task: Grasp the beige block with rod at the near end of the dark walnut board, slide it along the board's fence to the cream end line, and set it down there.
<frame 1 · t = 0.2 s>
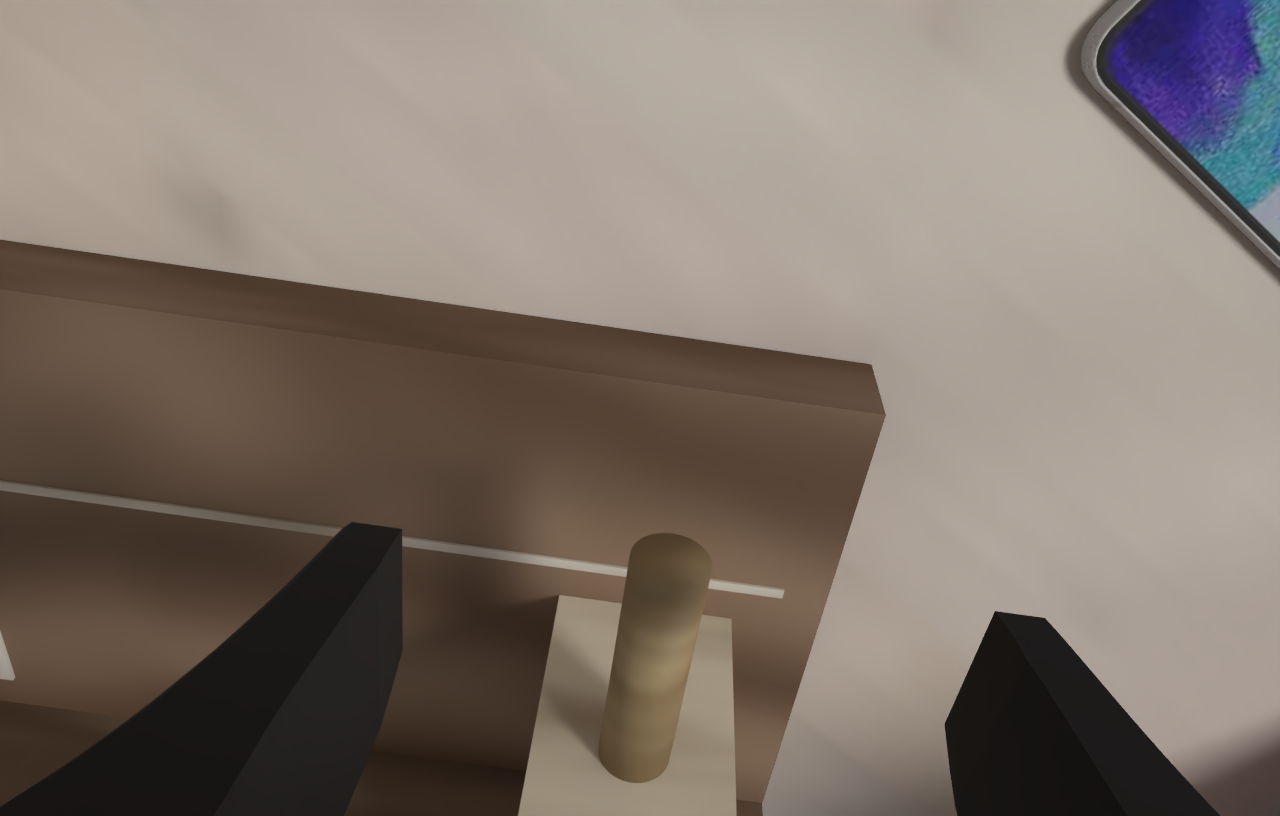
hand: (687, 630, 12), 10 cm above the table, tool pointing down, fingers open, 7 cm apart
beige block with rod: (632, 680, 24), point 2 cm above the table, touching board
board: (330, 535, 24), on the table
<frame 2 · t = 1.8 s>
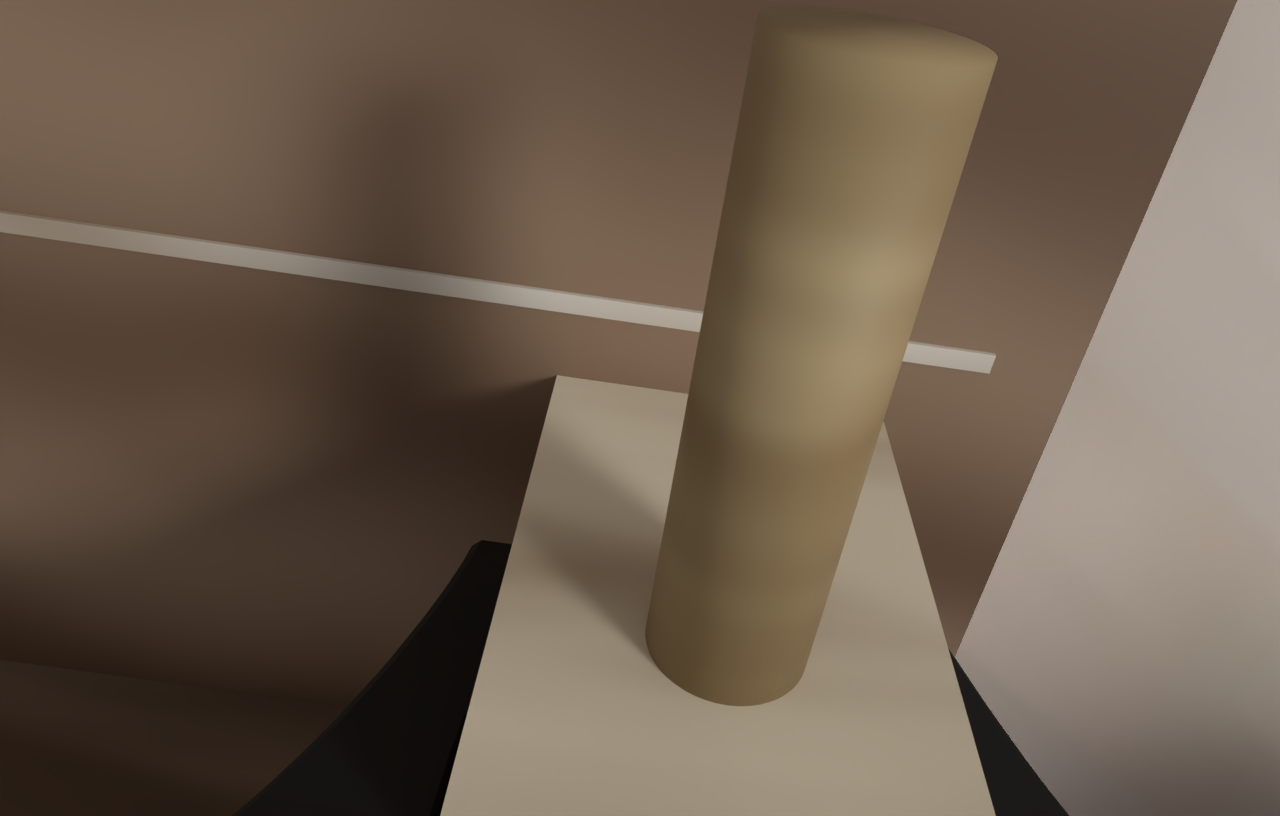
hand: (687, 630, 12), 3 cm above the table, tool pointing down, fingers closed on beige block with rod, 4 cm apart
beige block with rod: (688, 554, 13), point 2 cm above the table, touching board, gripper
board: (152, 305, 14), on the table
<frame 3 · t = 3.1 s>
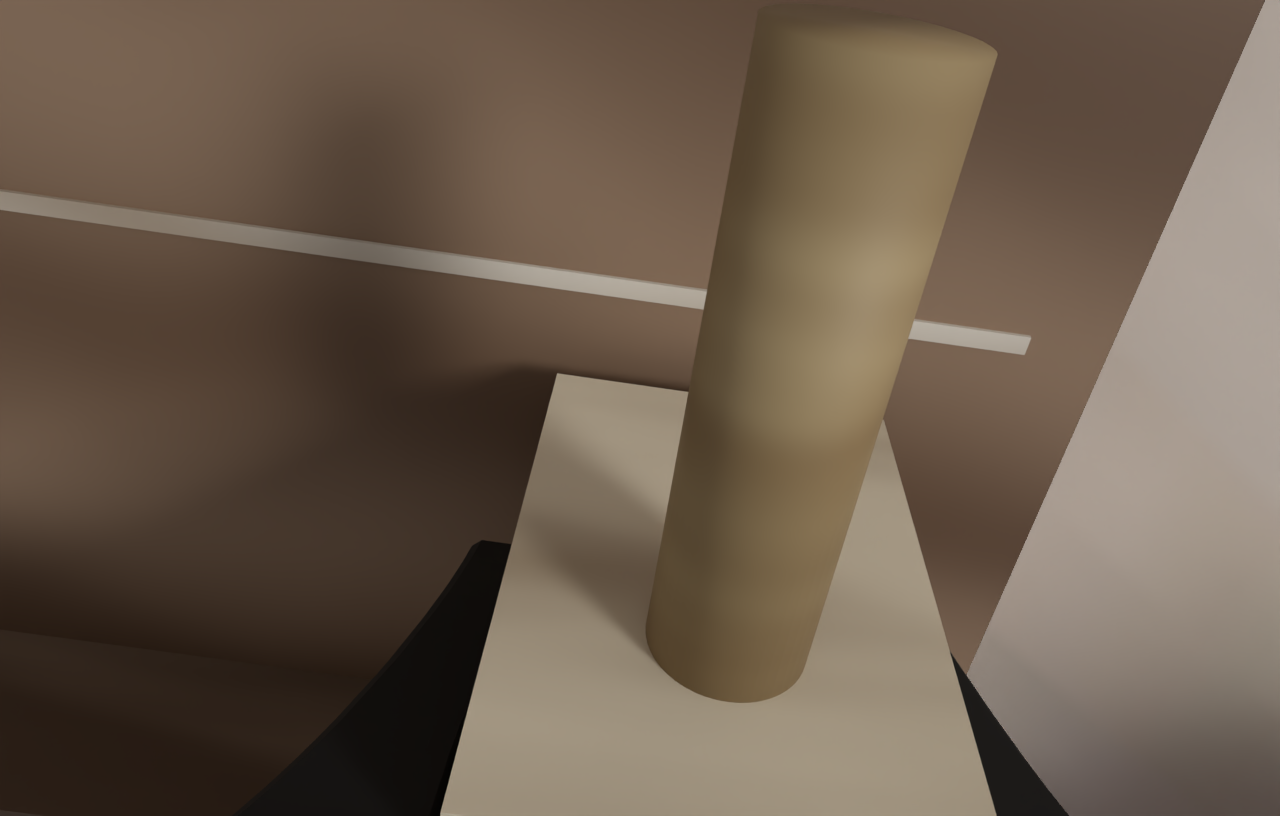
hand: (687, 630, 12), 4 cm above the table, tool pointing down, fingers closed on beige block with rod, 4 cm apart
beige block with rod: (688, 553, 13), point 3 cm above the table, touching gripper
board: (211, 294, 14), on the table
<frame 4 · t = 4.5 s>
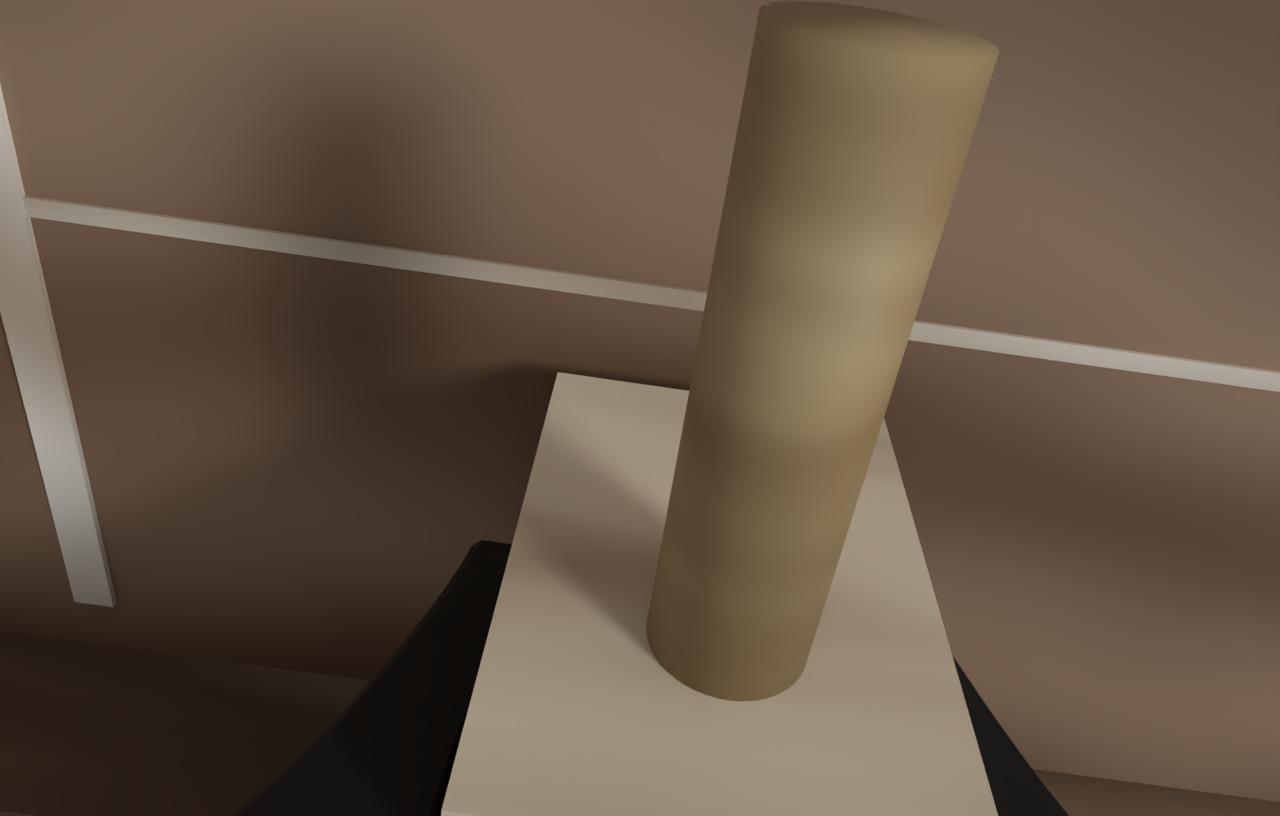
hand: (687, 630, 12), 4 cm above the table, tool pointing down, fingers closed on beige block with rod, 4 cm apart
beige block with rod: (689, 552, 13), point 3 cm above the table, touching gripper
board: (651, 357, 14), on the table
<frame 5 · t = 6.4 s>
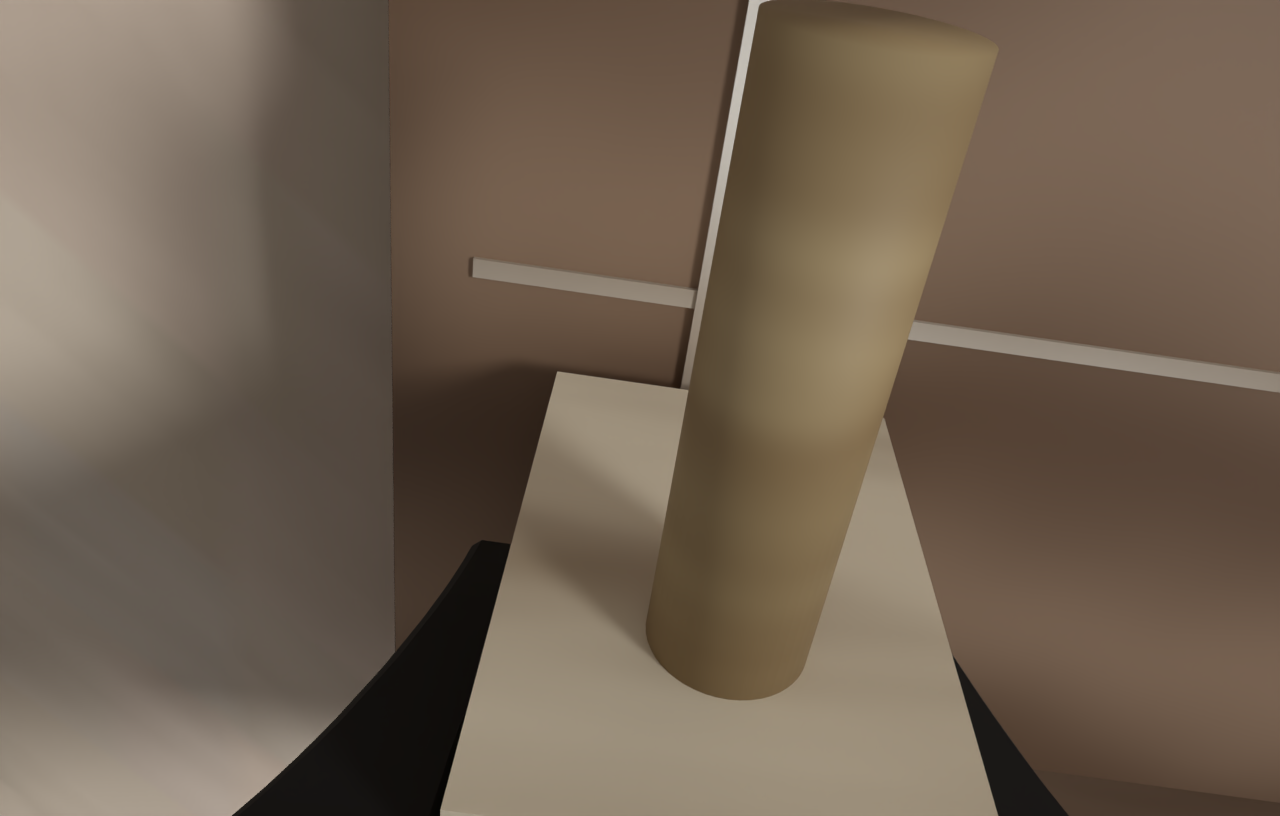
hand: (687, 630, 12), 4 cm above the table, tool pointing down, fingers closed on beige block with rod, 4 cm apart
beige block with rod: (689, 551, 13), point 3 cm above the table, touching gripper
board: (1221, 437, 15), on the table
when the fingers open (4 cm above the table, at t = 7.4 s): beige block with rod stays where it is, resting on board.
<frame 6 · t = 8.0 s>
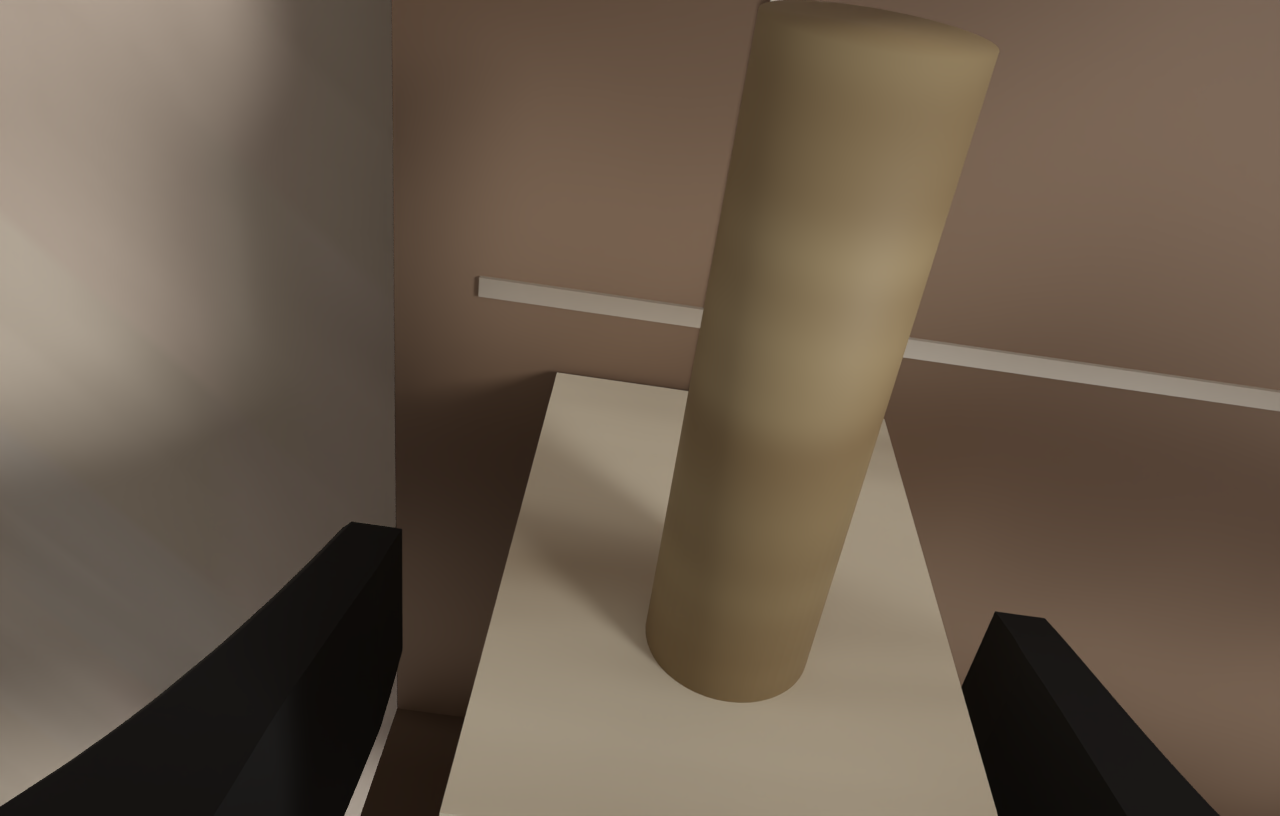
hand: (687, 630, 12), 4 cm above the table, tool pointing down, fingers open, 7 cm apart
beige block with rod: (689, 552, 13), point 2 cm above the table, touching board
board: (1248, 458, 14), on the table
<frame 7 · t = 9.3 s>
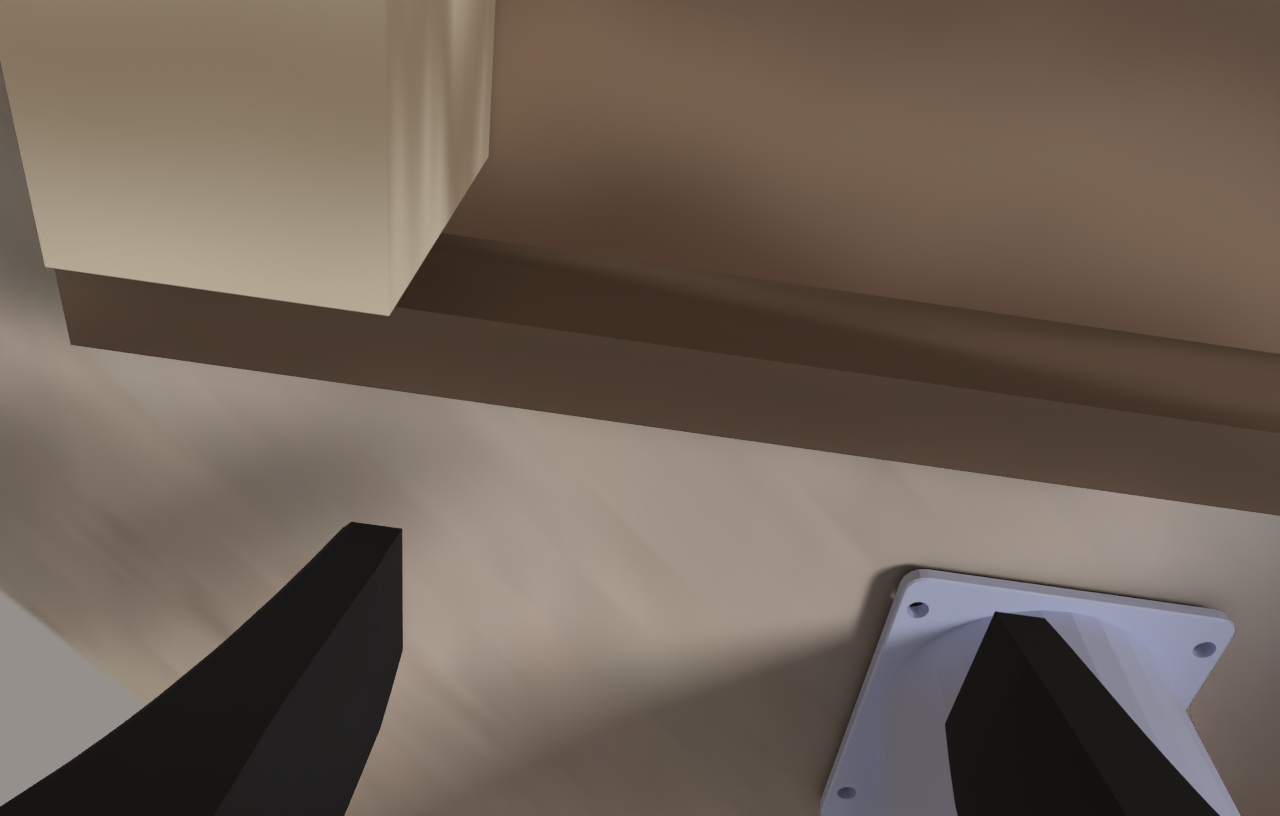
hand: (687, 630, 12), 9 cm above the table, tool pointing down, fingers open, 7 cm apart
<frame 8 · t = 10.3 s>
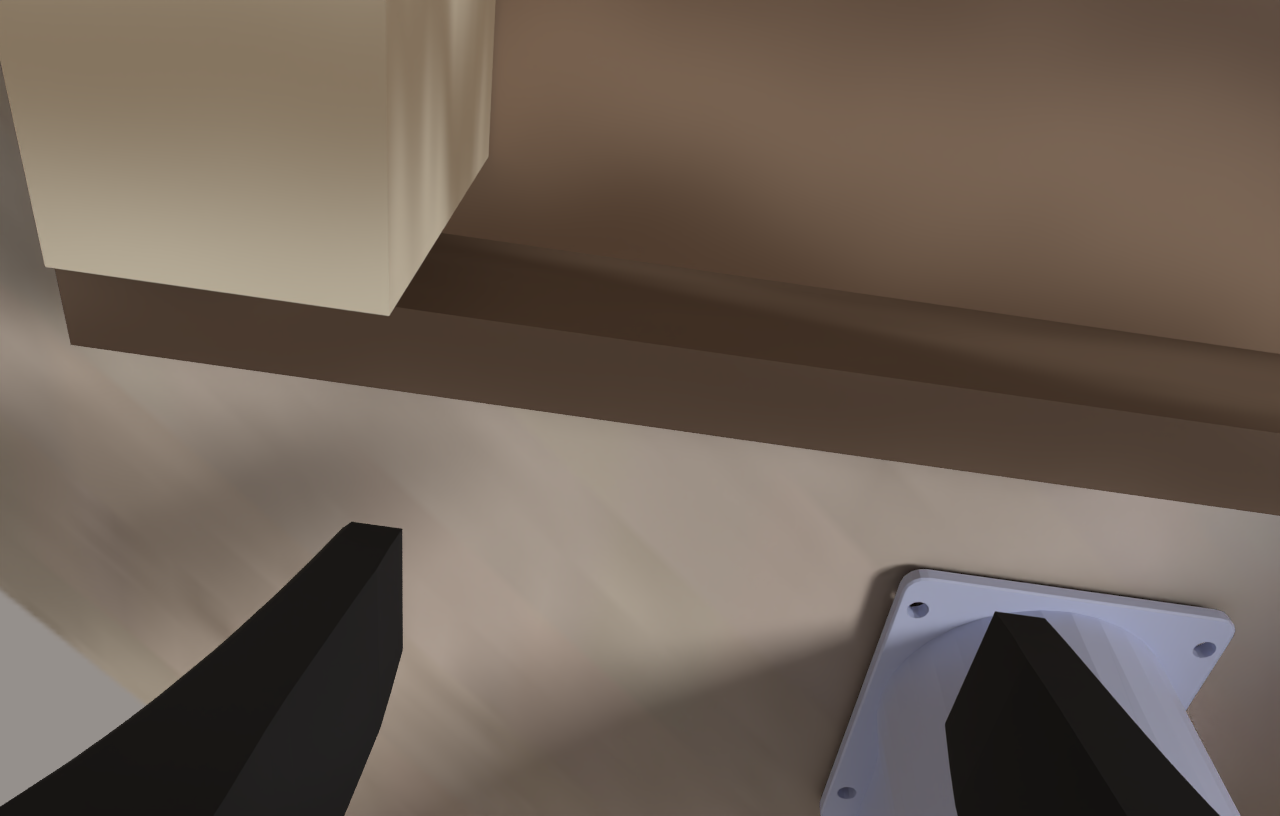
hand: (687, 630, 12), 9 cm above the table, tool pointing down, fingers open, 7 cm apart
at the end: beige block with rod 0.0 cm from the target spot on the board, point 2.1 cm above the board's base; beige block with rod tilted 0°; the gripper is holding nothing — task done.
